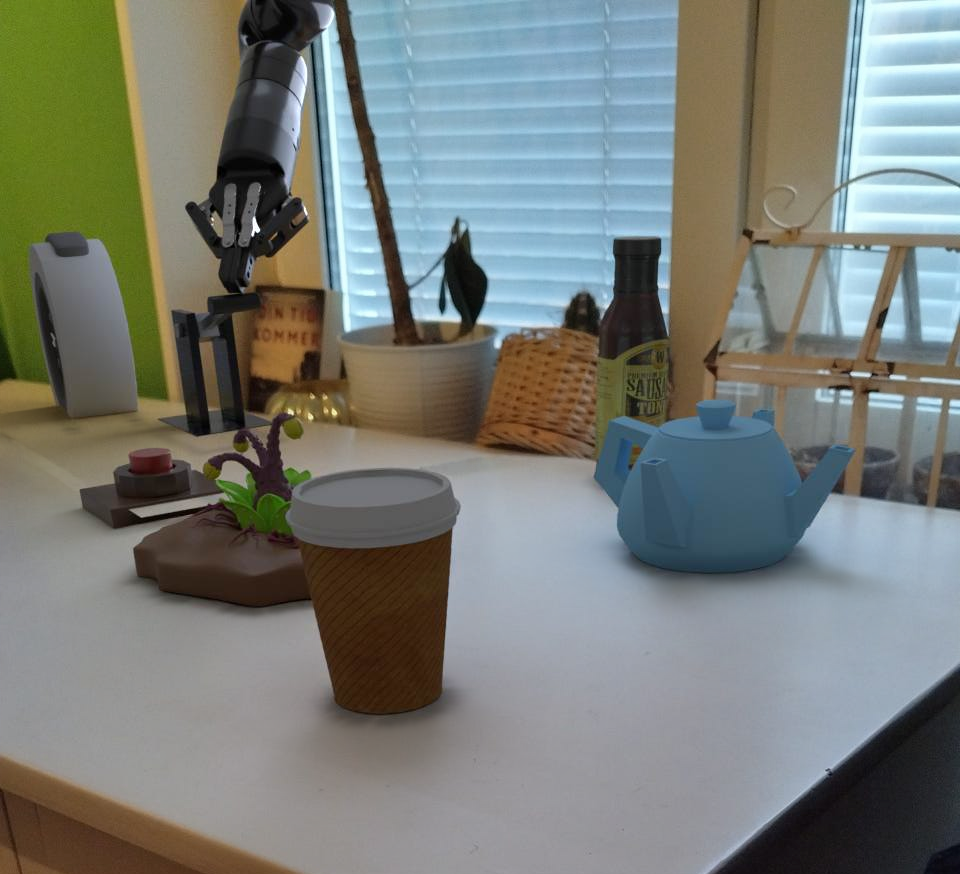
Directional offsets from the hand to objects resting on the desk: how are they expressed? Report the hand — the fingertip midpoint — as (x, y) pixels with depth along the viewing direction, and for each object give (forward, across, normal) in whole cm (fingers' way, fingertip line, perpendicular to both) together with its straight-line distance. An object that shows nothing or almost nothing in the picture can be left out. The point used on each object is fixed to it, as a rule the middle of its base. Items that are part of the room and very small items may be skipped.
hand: (232, 287), depth 129 cm
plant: (+38, +17, -16) cm, 45 cm away
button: (+25, 0, -7) cm, 26 cm away
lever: (+1, -3, +5) cm, 6 cm away
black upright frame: (+6, -7, +16) cm, 18 cm away
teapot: (+34, +49, -12) cm, 61 cm away
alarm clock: (-1, -26, +23) cm, 35 cm away
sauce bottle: (+19, +40, +4) cm, 45 cm away
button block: (+27, 0, -5) cm, 28 cm away
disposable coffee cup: (+56, +32, -33) cm, 72 cm away
